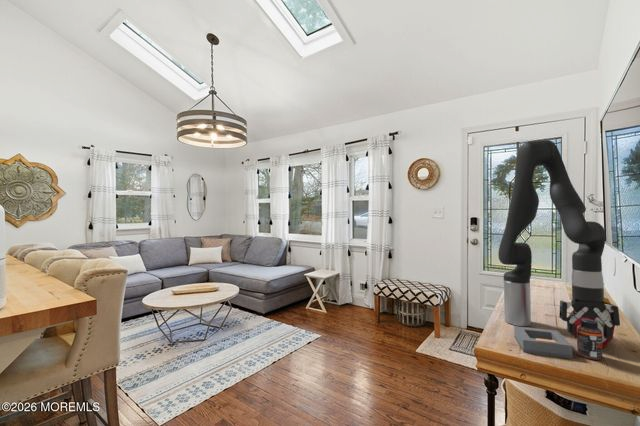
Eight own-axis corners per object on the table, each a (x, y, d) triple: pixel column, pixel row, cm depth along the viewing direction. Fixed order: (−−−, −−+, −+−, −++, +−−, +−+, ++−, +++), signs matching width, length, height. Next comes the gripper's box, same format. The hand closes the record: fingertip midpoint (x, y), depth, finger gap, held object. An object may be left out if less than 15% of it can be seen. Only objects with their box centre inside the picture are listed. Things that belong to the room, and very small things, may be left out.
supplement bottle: (601, 363, 90) (600, 325, 91) (575, 356, 95) (574, 320, 95) (603, 356, 94) (603, 320, 94) (579, 350, 99) (578, 316, 99)
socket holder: (514, 337, 110) (514, 325, 110) (557, 342, 105) (557, 329, 106) (523, 352, 98) (523, 338, 98) (572, 358, 93) (572, 344, 93)
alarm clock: (593, 352, 97) (591, 290, 97) (562, 342, 105) (561, 285, 105) (616, 344, 103) (615, 285, 103) (586, 335, 111) (585, 281, 111)
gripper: (610, 283, 95) (612, 335, 95) (555, 280, 101) (557, 329, 101) (623, 288, 89) (625, 344, 88) (563, 285, 94) (565, 337, 94)
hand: (589, 336), depth 94 cm, fingers open, 8 cm apart
